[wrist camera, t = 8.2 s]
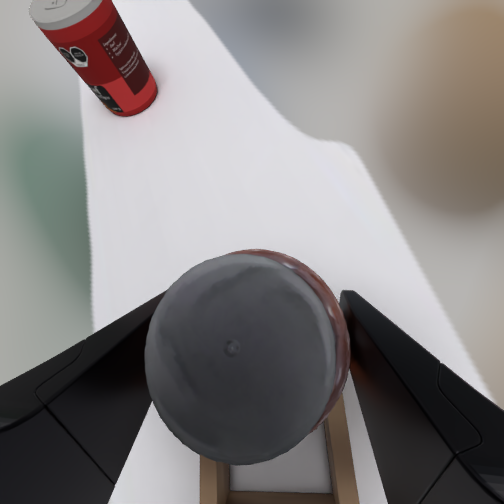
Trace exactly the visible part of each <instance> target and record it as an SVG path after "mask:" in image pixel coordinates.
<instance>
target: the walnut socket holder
mask: <svg viewBox="0 0 504 504" xmlns="http://www.w3.org/2000/svg"><path fill="white" fill-rule="evenodd" d="M324 428H325V435H326V443H327V451H328V458H329V466H330V474H331V482H332V489H333V494H321V493H285V492H250V491H230V478H229V464H227V463H223V462H216V461H213V460H211V459H208V458H206V457H204V456H202V455H200V504H359V498H358V491H357V485H356V478H355V472H354V465H353V459H352V452H351V446H350V440H349V433H348V427H347V420H346V414H345V407H344V401H343V394H341V395H340V397H339V399H338V401H337V402H336V404H335V406H334V408H333V409H332V410H331V412H330V414H329V415H328V417H327V419H325V420H324Z"/></svg>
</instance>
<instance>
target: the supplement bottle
mask: <svg viewBox="0 0 504 504" xmlns="http://www.w3.org/2000/svg"><path fill="white" fill-rule="evenodd" d="M350 354H351V350H350V338H349V333H348V330H347V324H346V320H345V317H344V314H343V311H342V309H341V308H340V305H339V303H338V301H337V299H336V298H335V296H334V294H333V293H332V291H331V290H330V288H329V287H328V286H327V285H326V283H325V282H324V281H323V280H322V279H321V278H320V276H319V275H317V274H316V273H315V272H314V271H313V270H311V269H310V268H309V267H308V266H306V265H305V264H303V263H301V262H300V261H298V260H297V259H295V258H293V257H290V256H287V255H285V254H282V253H279V252H274V251H269V250H262V249H249V250H242V251H235V252H231V253H229V254H226V255H223V256H220V257H217V258H213V259H210V260H206V261H204V262H202V263H200V264H198V265H196V266H194V267H193V268H191V269H190V270H189V271H187V272H186V273H184V274H183V275H182V276H181V277H180V278H179V279H178V280H177V281H176V282H174V283H173V284H172V285H171V286H170V288H169V289H168V290H167V292H166V294H165V295H164V297H163V298H162V299H161V301H160V303H159V304H158V306H157V308H156V310H155V312H154V314H153V316H152V319H151V322H150V325H149V331H148V334H147V338H146V346H145V373H146V379H147V385H148V389H149V393H150V396H151V398H152V401H153V403H154V406H155V408H156V410H157V411H158V413H159V416H160V418H161V419H162V420H163V422H164V423H165V424H166V426H167V427H168V429H169V430H170V431H171V432H172V433H173V435H174V436H175V437H177V438H178V439H179V440H180V441H181V442H182V444H184V445H186V446H187V447H189V448H190V449H191V450H192V451H194V452H196V453H197V454H200V455H202V456H204V457H206V458H208V459H211V460H213V461H216V462H223V463H227V464H232V465H251V464H255V463H260V462H264V461H268V460H271V459H273V458H275V457H277V456H279V455H281V454H283V453H286V452H288V451H289V450H290V449H291V448H293V447H295V446H296V445H297V444H298V443H299V442H300V441H301V440H302V439H304V438H305V437H306V436H307V435H308V434H310V433H311V432H313V431H314V430H316V429H317V427H318V426H319V425H320V424H321V423H322V422H323V421H324V420H325V419H327V417H328V415H329V414H330V412H331V410H332V409H333V408H334V406H335V404H336V402H337V401H338V399H339V397H340V395H341V394H342V391H343V388H344V386H345V382H346V380H347V376H348V370H349V366H350Z"/></svg>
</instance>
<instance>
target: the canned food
mask: <svg viewBox="0 0 504 504" xmlns="http://www.w3.org/2000/svg"><path fill="white" fill-rule="evenodd" d="M29 14H30V17H31V18H32V19H33V20H34V22H35V24H36V25H37V26H38V27H39V28H40V30H41V31H42V32H43V33H44V35H45V36H46V37H47V38H48V39H49V41H50V42H51V43H52V44H53V45H54V46H55V48H56V49H57V50H58V51H59V52H60V54H61V55H62V56H63V57H64V58H65V59H66V60H67V62H68V63H69V64H70V65H71V66H72V68H73V69H74V70H75V71H76V72H77V73H78V75H79V76H80V77H81V78H82V79H83V81H84V82H85V83H86V84H87V85H88V86H89V88H90V89H91V90H92V91H93V92H94V93H95V95H96V96H97V97H98V98H99V99H100V101H101V102H102V103H103V104H104V105H105V106H106V108H107V109H109V110H110V111H111V112H113V113H114V114H116V115H119V116H131V115H135V114H137V113H140V112H142V111H143V110H145V109H146V108H147V107H148V106H149V105H151V103H152V102H153V100H154V99H155V97H156V94H157V87H156V83H155V79H154V78H153V76H152V74H151V72H150V70H149V68H148V67H147V65H146V63H145V61H144V59H143V57H142V56H141V54H140V52H139V50H138V48H137V46H136V45H135V43H134V41H133V39H132V37H131V35H130V33H129V32H128V30H127V28H126V26H125V24H124V22H123V21H122V19H121V17H120V15H119V13H118V11H117V10H116V8H115V6H114V4H113V2H112V0H33V1H32V2H31V5H30V8H29Z"/></svg>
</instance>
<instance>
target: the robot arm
mask: <svg viewBox="0 0 504 504" xmlns="http://www.w3.org/2000/svg"><path fill="white" fill-rule="evenodd" d="M166 292H167V290H166V291H164V292H163V293H161V294H159V295H158V296H156V297H154V298H153V299H151V300H149V301H148V302H146V303H144V304H143V305H141V306H139V307H138V308H136V309H134V310H133V311H131V312H129V313H128V314H126V315H124V316H122V317H121V318H119V319H117V320H116V321H114V322H112V323H111V324H109V325H107V326H106V327H104V328H102V329H101V330H99V331H97V332H96V333H94V334H92V335H91V336H89V337H87V338H86V340H82V341H80V342H79V343H77V344H75V345H74V346H72V347H70V348H69V349H67V350H65V351H64V352H62V353H60V354H58V355H57V356H55V357H53V358H51V359H49V360H47V361H46V362H44V363H42V364H40V365H38V366H36V367H35V368H33V369H31V370H29V371H27V372H25V373H24V374H21V375H20V376H18V377H16V378H14V379H12V380H10V381H8V382H7V383H5V384H3V385H1V386H0V504H108V502H109V499H110V497H111V495H112V492H113V490H114V488H115V484H116V483H117V480H118V478H119V476H120V474H121V471H122V469H123V467H124V464H125V462H126V460H127V458H128V455H129V453H130V451H131V448H132V446H133V444H134V441H135V439H136V437H137V435H138V432H139V430H140V428H141V425H142V423H143V421H144V418H145V416H146V414H147V412H148V409H149V407H150V405H151V402H152V398H151V396H150V393H149V389H148V385H147V379H146V373H145V346H146V338H147V334H148V331H149V325H150V322H151V319H152V316H153V314H154V312H155V310H156V308H157V306H158V304H159V303H160V301H161V299H162V298H163V297H164V295H165V294H166ZM339 305H340V308H341V309H342V311H343V314H344V317H345V320H346V324H347V330H348V333H349V338H350V350H351V354H350V366H349V369H350V372H351V376H352V379H353V383H354V386H355V390H356V393H357V397H358V400H359V404H360V407H361V411H362V414H363V418H364V421H365V425H366V428H367V432H368V435H369V439H370V442H371V446H372V449H373V453H374V456H375V460H376V463H377V467H378V470H379V474H380V477H381V481H382V484H383V488H384V491H385V495H386V498H387V502H388V504H504V410H502V409H501V408H500V407H498V406H497V405H496V404H494V403H493V402H492V401H490V400H489V399H488V398H486V397H485V396H484V395H482V394H481V393H480V392H478V391H477V390H476V389H474V388H473V387H472V386H471V385H469V384H468V383H467V382H466V381H464V380H463V379H462V378H460V377H459V376H458V375H457V374H455V373H454V372H453V371H452V370H451V369H449V368H448V367H447V366H446V365H444V364H443V363H440V361H439V360H438V359H437V358H436V357H434V356H433V355H432V354H431V353H430V352H428V351H427V350H426V349H425V348H423V347H422V346H421V345H420V344H419V343H417V342H416V341H415V340H414V339H413V338H411V337H410V336H409V335H408V334H406V333H405V332H404V331H403V330H402V329H400V328H399V327H398V326H397V325H395V324H394V323H393V322H392V321H391V320H389V319H388V318H387V317H386V316H384V315H383V314H382V313H381V312H380V311H378V310H377V309H376V308H375V307H373V306H372V305H371V304H370V303H369V302H367V301H366V300H365V299H364V298H362V297H361V296H360V295H359V294H358V293H356V292H355V291H353V290H342V291H341V295H340V302H339Z"/></svg>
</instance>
